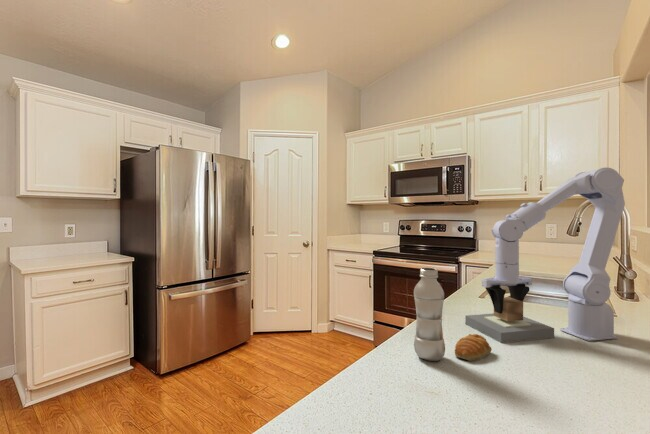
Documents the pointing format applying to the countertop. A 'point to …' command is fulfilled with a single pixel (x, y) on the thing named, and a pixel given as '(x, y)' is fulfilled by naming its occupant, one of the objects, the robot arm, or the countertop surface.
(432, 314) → the plastic bottle
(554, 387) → the countertop surface
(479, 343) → the pastry
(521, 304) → the walnut cube
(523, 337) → the slate board
